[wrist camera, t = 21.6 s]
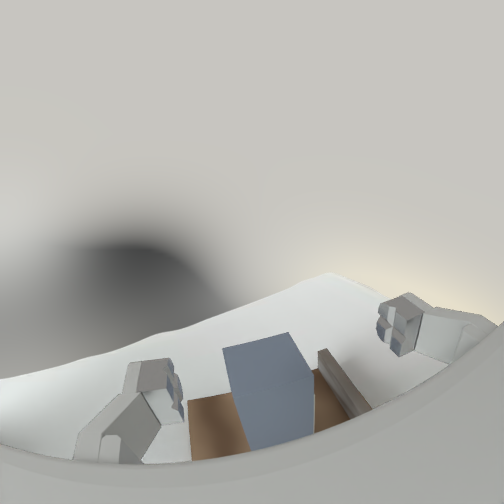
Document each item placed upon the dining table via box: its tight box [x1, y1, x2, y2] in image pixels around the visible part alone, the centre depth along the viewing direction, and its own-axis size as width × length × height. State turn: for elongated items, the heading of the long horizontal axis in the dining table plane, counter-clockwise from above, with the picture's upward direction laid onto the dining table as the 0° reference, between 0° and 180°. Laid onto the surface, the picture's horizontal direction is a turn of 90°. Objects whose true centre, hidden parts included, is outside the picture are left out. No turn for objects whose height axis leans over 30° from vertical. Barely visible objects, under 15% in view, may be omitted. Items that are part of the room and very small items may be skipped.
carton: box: [222, 332, 315, 451], centre depth 19 cm, size 5×5×13 cm
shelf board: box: [187, 348, 372, 461], centre depth 21 cm, size 18×20×4 cm
